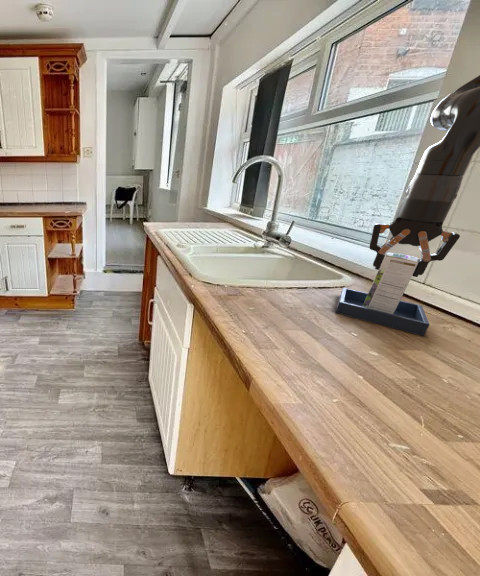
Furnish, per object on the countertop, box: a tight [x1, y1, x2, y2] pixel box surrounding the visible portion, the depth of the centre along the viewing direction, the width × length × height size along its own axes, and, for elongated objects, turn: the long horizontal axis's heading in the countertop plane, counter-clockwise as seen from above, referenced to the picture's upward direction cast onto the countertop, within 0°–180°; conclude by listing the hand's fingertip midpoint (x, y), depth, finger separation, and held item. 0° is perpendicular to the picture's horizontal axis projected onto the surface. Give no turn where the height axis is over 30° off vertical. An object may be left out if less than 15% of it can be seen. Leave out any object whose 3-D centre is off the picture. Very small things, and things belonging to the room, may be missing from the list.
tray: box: [335, 287, 430, 337], centre depth 75 cm, size 16×14×3 cm
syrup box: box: [363, 252, 420, 314], centre depth 72 cm, size 6×6×14 cm
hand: (395, 272), depth 71 cm, fingers closed on syrup box, 6 cm apart
